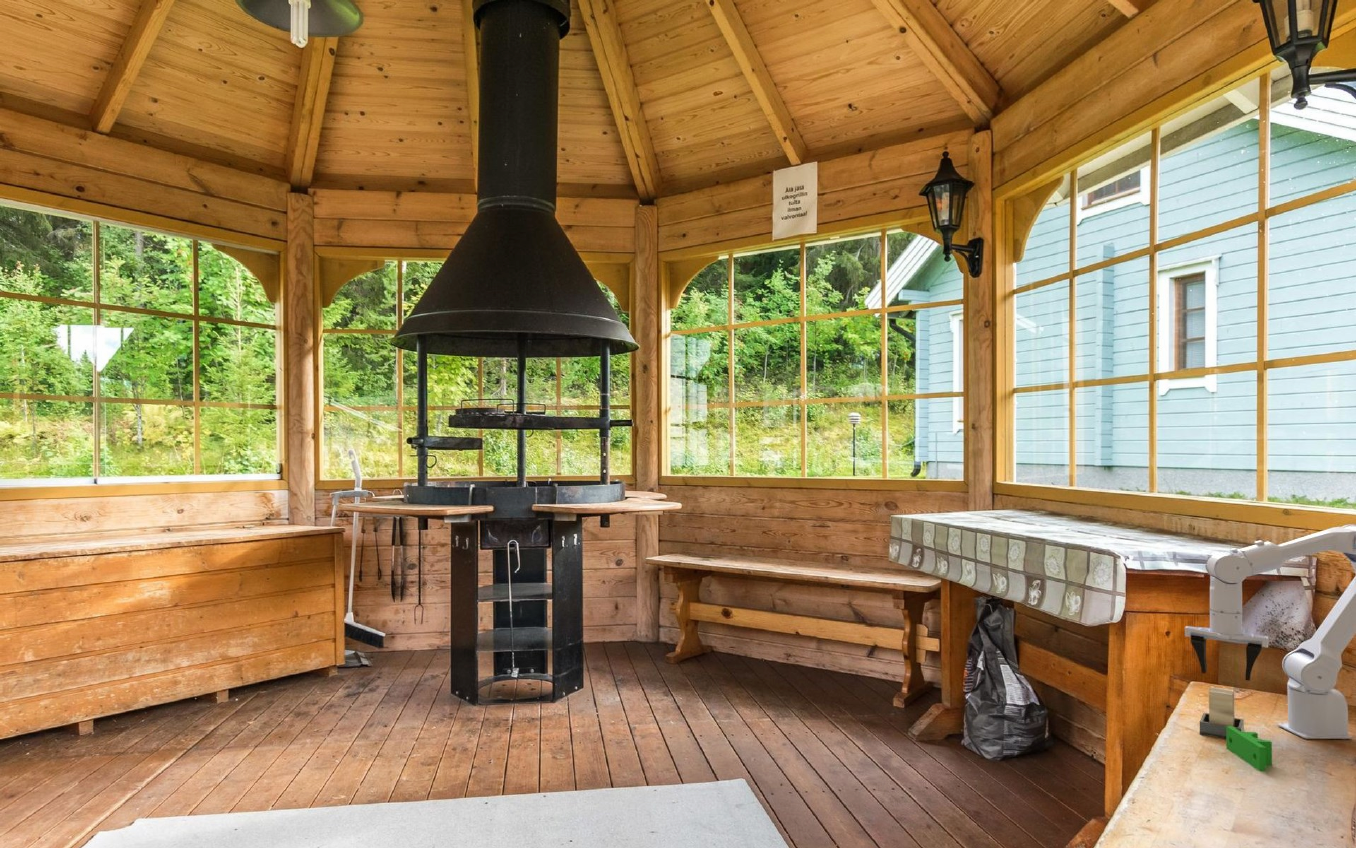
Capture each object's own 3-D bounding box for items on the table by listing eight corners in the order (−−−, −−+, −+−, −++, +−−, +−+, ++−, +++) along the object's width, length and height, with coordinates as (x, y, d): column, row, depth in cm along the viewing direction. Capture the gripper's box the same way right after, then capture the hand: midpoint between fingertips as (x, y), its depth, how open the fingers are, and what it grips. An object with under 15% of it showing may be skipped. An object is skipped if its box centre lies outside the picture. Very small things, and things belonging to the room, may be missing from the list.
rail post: (1211, 725, 172) (1210, 686, 172) (1234, 729, 170) (1234, 690, 170) (1209, 730, 169) (1208, 691, 169) (1232, 735, 166) (1232, 695, 167)
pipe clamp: (1282, 773, 149) (1281, 748, 149) (1259, 772, 150) (1259, 747, 150) (1247, 750, 160) (1246, 726, 160) (1226, 749, 161) (1226, 725, 161)
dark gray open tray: (1203, 724, 174) (1203, 712, 174) (1243, 731, 170) (1243, 719, 170) (1199, 734, 169) (1199, 721, 169) (1241, 741, 164) (1241, 728, 164)
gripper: (1183, 609, 175) (1182, 673, 175) (1267, 619, 166) (1267, 687, 166) (1187, 604, 181) (1187, 666, 180) (1269, 613, 172) (1268, 679, 171)
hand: (1225, 676), depth 173 cm, fingers open, 7 cm apart
